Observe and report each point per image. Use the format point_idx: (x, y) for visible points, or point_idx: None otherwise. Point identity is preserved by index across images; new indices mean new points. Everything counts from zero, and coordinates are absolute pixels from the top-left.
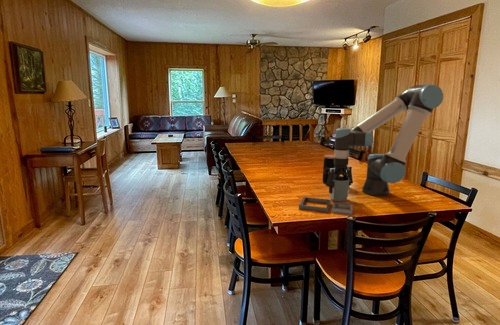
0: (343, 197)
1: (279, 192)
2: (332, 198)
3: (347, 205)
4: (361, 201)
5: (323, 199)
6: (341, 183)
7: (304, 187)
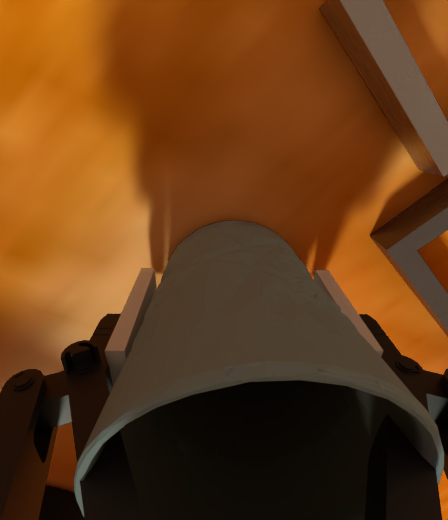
0: (252, 232)
1: (440, 484)
2: (330, 278)
3: (390, 28)
4: (60, 152)
5: (431, 284)
6: (362, 349)
7: None
